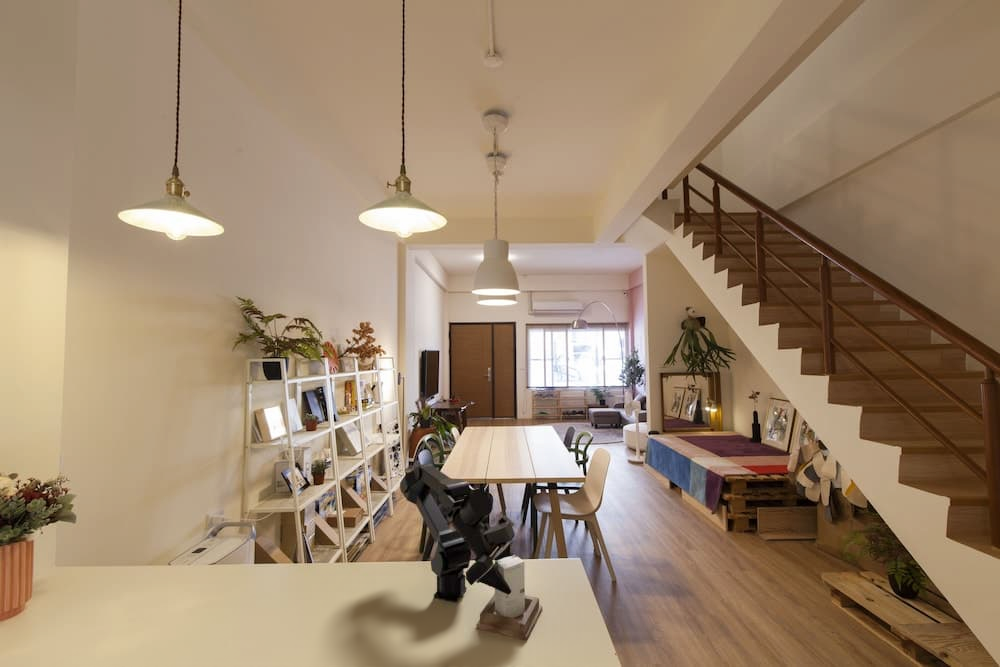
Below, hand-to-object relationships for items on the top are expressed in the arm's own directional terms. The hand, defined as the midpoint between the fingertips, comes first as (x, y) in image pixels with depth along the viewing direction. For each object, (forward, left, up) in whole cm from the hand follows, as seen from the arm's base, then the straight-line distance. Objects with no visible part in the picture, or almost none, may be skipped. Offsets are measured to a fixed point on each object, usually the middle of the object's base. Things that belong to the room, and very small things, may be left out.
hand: (515, 584), depth 103 cm
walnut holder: (-1, 0, -8) cm, 8 cm away
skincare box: (-2, 0, -7) cm, 7 cm away
